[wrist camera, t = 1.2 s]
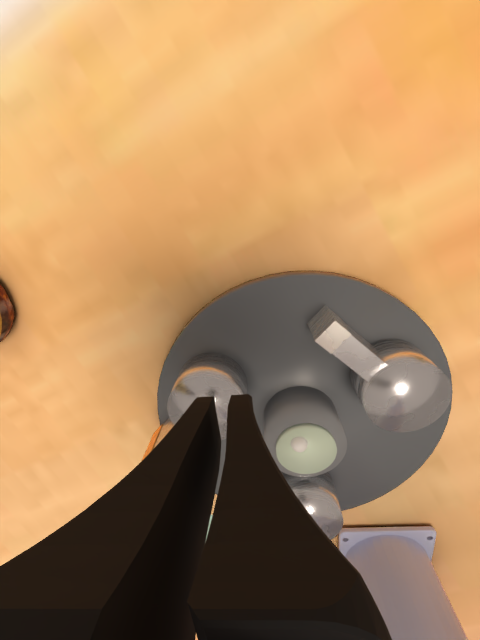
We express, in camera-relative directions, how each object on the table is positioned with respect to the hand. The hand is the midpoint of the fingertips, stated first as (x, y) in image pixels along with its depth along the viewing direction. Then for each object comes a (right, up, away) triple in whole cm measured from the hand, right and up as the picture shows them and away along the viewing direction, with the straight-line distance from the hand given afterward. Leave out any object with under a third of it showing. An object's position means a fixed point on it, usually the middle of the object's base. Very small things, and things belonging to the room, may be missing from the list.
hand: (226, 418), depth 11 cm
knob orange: (-3, -2, +10) cm, 11 cm away
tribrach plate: (+5, -3, +12) cm, 13 cm away
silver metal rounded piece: (+8, +1, +8) cm, 12 cm away
